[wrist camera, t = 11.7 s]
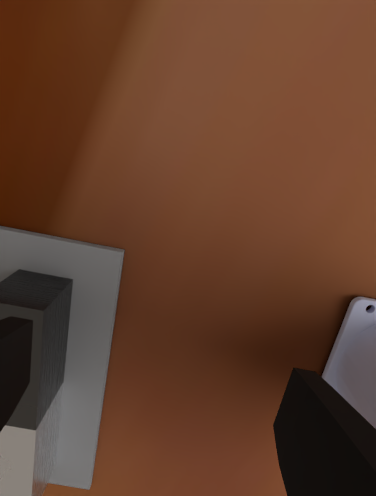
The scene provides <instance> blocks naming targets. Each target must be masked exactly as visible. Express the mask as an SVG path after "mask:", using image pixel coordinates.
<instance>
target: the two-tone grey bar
mask: <svg viewBox="0 0 376 496" xmlns="http://www.w3.org/2000/svg"><path fill="white" fill-rule="evenodd" d="M72 287H73V279H69V278H64V277H58V276H53V275H48V274H42V273H37V272H32V271H26V270H21V269H19V270H17V271H16V272H14V273H13V274H11V275H10V276H8V277H7V278H6V279H4V280H3V281H1V282H0V320H2V319H4V318H7V317H10V316H13V317H18V318H24V319H29V320H33V334H32V352H31V371H30V383H29V385H28V387H27V389H26V390H25V392H24V394H23V396H22V398H21V400H20V402H19V403H18V405H17V407H16V409H15V410H14V412H13V414H12V416H11V417H10V419H9V420H8V422H7V423H6V425H5V426H4V428H3V429H2V431H1V432H0V496H42V495H43V493H44V490H45V488H46V486H47V484H48V481H49V479H50V477H51V475H52V472H53V470H54V468H55V466H56V460H57V449H58V438H59V427H60V417H61V406H62V395H63V384H64V373H65V363H66V352H67V341H68V330H69V319H70V309H71V298H72Z"/></svg>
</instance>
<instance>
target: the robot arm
mask: <svg viewBox="0 0 376 496" xmlns="http://www.w3.org/2000/svg"><path fill="white" fill-rule="evenodd" d="M369 305H372V306H371V308H370V309H368V310H366V307H367V306H369ZM32 334H33V320H29V319H24V318H18V317H13V316H10V317H7V318H4V319H2V320H0V432H1V431H2V429H3V428H4V426H5V425H6V423H7V422H8V420H9V419H10V417H11V416H12V414H13V412H14V410H15V409H16V407H17V405H18V403H19V402H20V400H21V398H22V396H23V394H24V392H25V390H26V389H27V387H28V385H29V383H30V371H31V352H32ZM273 427H274V434H275V441H276V448H277V454H278V460H279V466H280V470H281V474H282V478H283V481H284V485H285V489H286V492H287V496H376V299H371V298H366V297H356V298H354V299H353V300H352V301H351V303H350V305H349V307H348V310H347V313H346V315H345V318H344V320H343V323H342V325H341V328H340V331H339V333H338V336H337V338H336V341H335V343H334V346H333V349H332V351H331V354H330V356H329V359H328V361H327V364H326V367H325V369H324V372H323V374H322V377H321V376H319V375H318V374H317V373H316V372H314V371H309V370H303V369H298V368H293V370H292V373H291V376H290V379H289V382H288V385H287V387H286V390H285V393H284V396H283V399H282V402H281V404H280V407H279V410H278V413H277V416H276V419H275V421H274V424H273Z"/></svg>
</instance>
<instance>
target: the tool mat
mask: <svg viewBox="0 0 376 496" xmlns="http://www.w3.org/2000/svg"><path fill="white" fill-rule="evenodd" d="M124 251H125V250H124V249H119V248H113V247H108V246H103V245H98V244H92V243H87V242H82V241H77V240H72V239H66V238H61V237H56V236H51V235H46V234H40V233H35V232H30V231H25V230H20V229H14V228H9V227H4V226H0V282H1V281H3V280H4V279H6V278H7V277H8V276H10V275H11V274H13V273H14V272H16V271H17V270H19V269H21V270H26V271H32V272H37V273H42V274H48V275H53V276H58V277H64V278H69V279H73V287H72V298H71V309H70V319H69V330H68V341H67V352H66V363H65V373H64V384H63V395H62V406H61V417H60V427H59V438H58V449H57V460H56V466H55V468H54V470H53V472H52V475H51V477H50V479H49V481H48V483H52V484H58V485H64V486H70V487H76V488H82V489H88V490H90V486H91V483H92V477H93V470H94V463H95V456H96V449H97V442H98V434H99V427H100V420H101V413H102V406H103V399H104V392H105V385H106V378H107V371H108V364H109V357H110V350H111V343H112V336H113V328H114V321H115V314H116V307H117V300H118V293H119V286H120V279H121V272H122V265H123V258H124Z"/></svg>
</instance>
